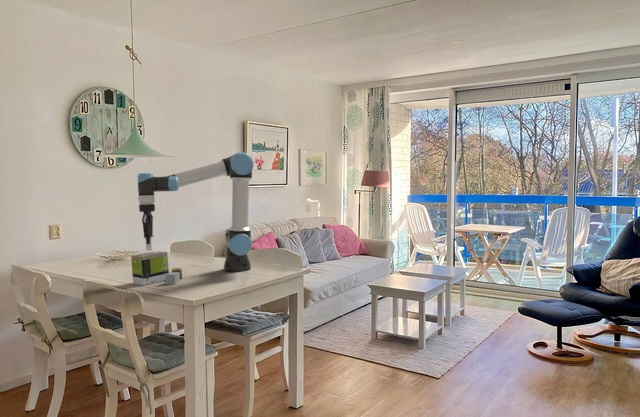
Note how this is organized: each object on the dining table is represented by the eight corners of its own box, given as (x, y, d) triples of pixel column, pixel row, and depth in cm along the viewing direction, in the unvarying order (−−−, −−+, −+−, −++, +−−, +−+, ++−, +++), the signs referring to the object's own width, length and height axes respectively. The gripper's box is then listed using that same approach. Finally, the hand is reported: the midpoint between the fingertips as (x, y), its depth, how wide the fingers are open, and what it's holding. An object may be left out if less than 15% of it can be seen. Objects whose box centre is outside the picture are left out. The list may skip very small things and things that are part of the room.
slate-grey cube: (179, 282, 246) (179, 272, 245) (175, 284, 241) (174, 274, 240) (170, 282, 246) (170, 272, 246) (165, 284, 242) (165, 274, 241)
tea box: (158, 277, 257) (157, 250, 256) (169, 280, 251) (168, 251, 250) (132, 283, 246) (130, 254, 245) (143, 286, 239) (141, 256, 238)
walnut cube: (182, 277, 258) (181, 267, 257) (182, 279, 253) (181, 269, 252) (172, 278, 256) (171, 268, 256) (172, 280, 251) (171, 270, 251)
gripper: (142, 203, 251) (144, 248, 253) (135, 204, 238) (138, 252, 240) (157, 202, 252) (159, 247, 254) (151, 204, 239) (153, 251, 241)
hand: (149, 250), depth 247 cm, fingers closed
